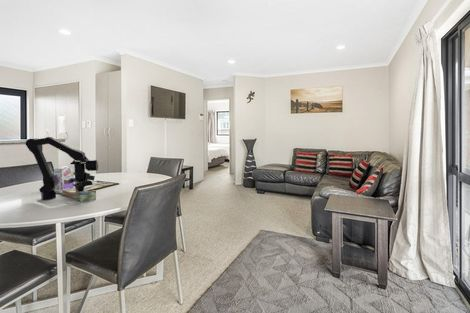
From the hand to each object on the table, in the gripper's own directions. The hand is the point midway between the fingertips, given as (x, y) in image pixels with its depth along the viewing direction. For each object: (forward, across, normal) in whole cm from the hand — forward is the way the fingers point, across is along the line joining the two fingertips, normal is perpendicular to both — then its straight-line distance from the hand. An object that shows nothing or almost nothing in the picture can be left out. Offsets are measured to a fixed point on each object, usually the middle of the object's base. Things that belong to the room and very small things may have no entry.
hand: (80, 194), depth 163 cm
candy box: (+3, +38, -6) cm, 39 cm away
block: (+1, -4, 0) cm, 4 cm away
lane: (+2, +3, -3) cm, 5 cm away
